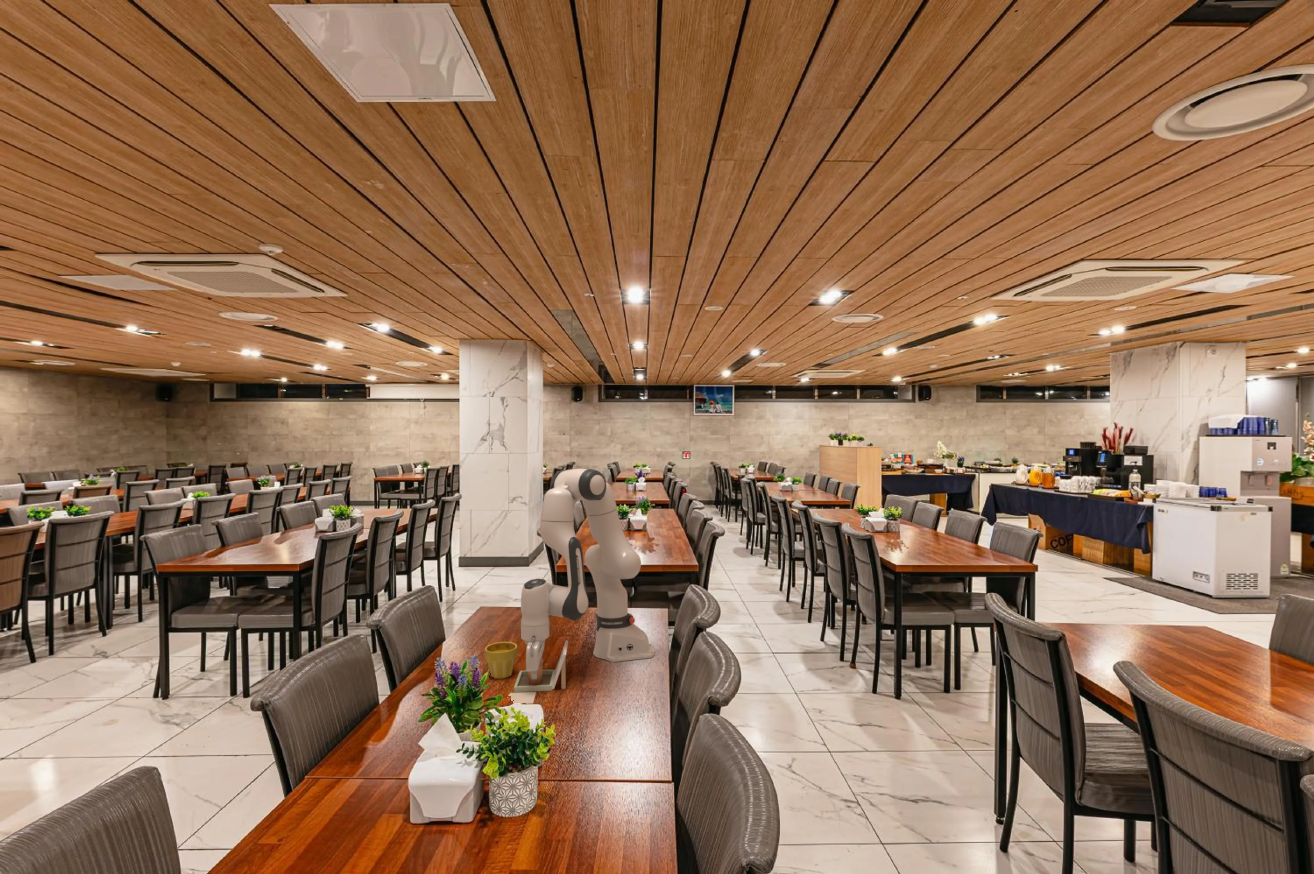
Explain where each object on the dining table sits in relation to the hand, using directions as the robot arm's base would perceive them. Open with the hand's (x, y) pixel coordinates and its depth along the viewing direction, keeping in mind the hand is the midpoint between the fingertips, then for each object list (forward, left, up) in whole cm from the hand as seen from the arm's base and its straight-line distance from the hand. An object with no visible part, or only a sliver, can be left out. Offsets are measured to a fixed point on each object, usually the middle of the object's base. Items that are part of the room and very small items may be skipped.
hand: (535, 675), depth 194 cm
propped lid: (-8, 0, -3) cm, 8 cm away
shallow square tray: (0, 0, -3) cm, 3 cm away
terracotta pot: (0, 0, -2) cm, 2 cm away
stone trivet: (+3, +12, -3) cm, 13 cm away
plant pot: (+12, -8, -3) cm, 15 cm away
